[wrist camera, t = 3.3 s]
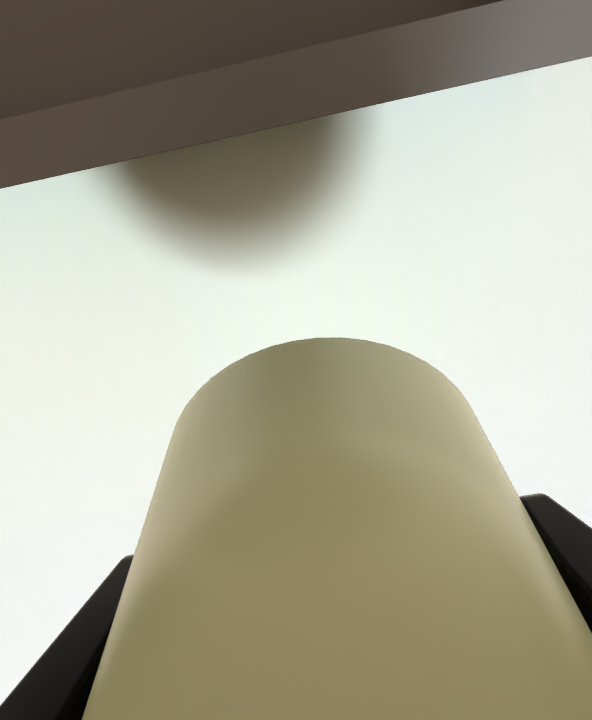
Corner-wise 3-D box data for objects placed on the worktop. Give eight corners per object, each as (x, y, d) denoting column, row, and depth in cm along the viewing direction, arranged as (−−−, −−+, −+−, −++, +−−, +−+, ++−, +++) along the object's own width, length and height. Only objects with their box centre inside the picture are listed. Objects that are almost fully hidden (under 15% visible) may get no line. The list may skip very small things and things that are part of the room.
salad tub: (480, 306, 8) (1079, 1060, 2) (484, 555, 11) (728, 1159, 5) (120, 373, 9) (-297, 1124, 2) (217, 592, 11) (139, 1178, 5)
